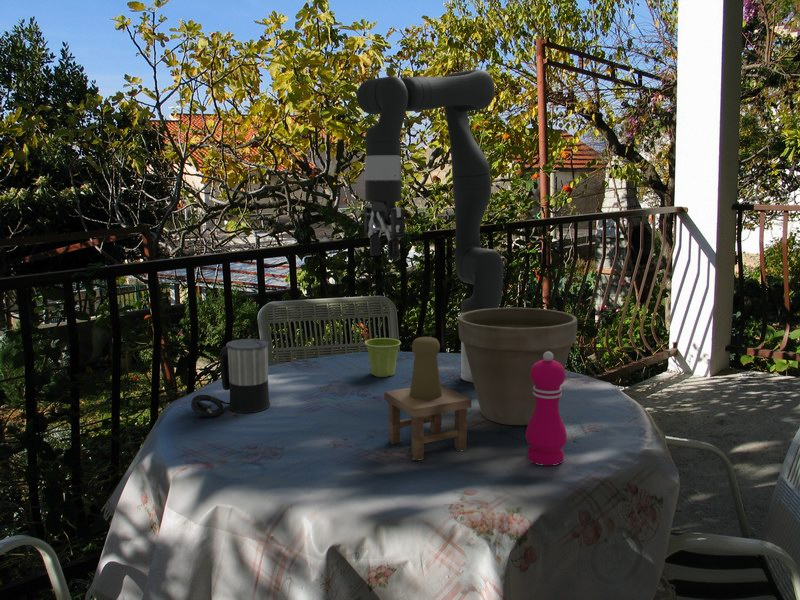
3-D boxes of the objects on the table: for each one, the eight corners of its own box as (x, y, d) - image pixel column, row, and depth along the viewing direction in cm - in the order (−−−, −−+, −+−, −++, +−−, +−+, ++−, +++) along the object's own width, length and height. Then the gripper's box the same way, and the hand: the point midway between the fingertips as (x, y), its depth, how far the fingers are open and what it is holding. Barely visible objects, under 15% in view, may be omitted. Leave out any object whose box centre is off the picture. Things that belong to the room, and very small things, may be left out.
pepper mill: (520, 452, 128) (522, 347, 125) (558, 451, 129) (562, 346, 126) (531, 468, 121) (533, 357, 118) (571, 466, 122) (575, 356, 119)
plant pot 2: (456, 396, 163) (456, 305, 159) (562, 397, 161) (565, 305, 158) (459, 434, 138) (459, 327, 134) (585, 436, 137) (588, 328, 133)
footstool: (438, 430, 140) (438, 382, 138) (471, 450, 130) (471, 399, 128) (384, 441, 135) (384, 391, 133) (414, 462, 124) (414, 409, 122)
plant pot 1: (402, 369, 186) (402, 338, 185) (399, 379, 177) (399, 346, 175) (368, 369, 187) (367, 337, 186) (362, 378, 178) (362, 345, 176)
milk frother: (279, 403, 159) (276, 340, 156) (236, 425, 144) (233, 356, 142) (228, 396, 164) (225, 335, 162) (182, 417, 150) (178, 350, 148)
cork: (445, 391, 133) (445, 335, 131) (436, 401, 127) (437, 342, 125) (415, 388, 134) (415, 333, 133) (405, 398, 129) (405, 340, 127)
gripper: (415, 178, 138) (416, 259, 141) (384, 178, 151) (385, 253, 154) (381, 178, 135) (383, 261, 138) (352, 178, 147) (354, 255, 150)
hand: (384, 256), depth 146 cm, fingers open, 8 cm apart
